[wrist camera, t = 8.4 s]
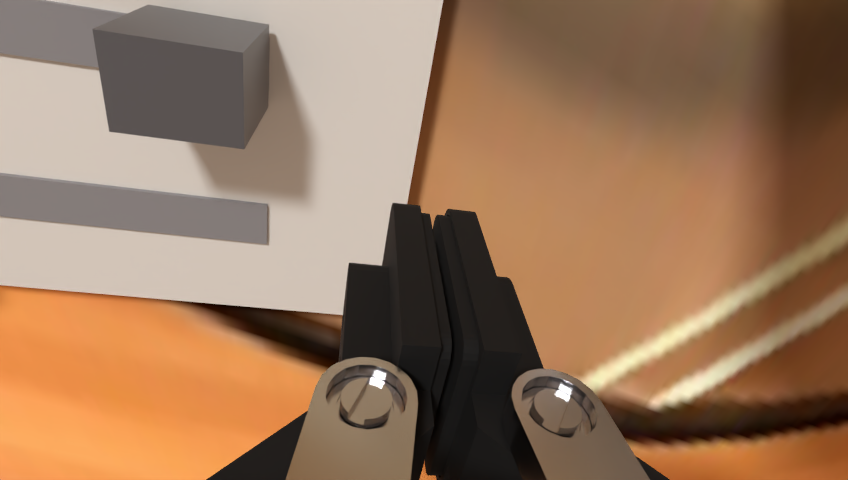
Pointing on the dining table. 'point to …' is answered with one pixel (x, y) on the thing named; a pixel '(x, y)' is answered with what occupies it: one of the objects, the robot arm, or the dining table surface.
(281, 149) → the switch panel
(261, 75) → the handle
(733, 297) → the dining table surface
